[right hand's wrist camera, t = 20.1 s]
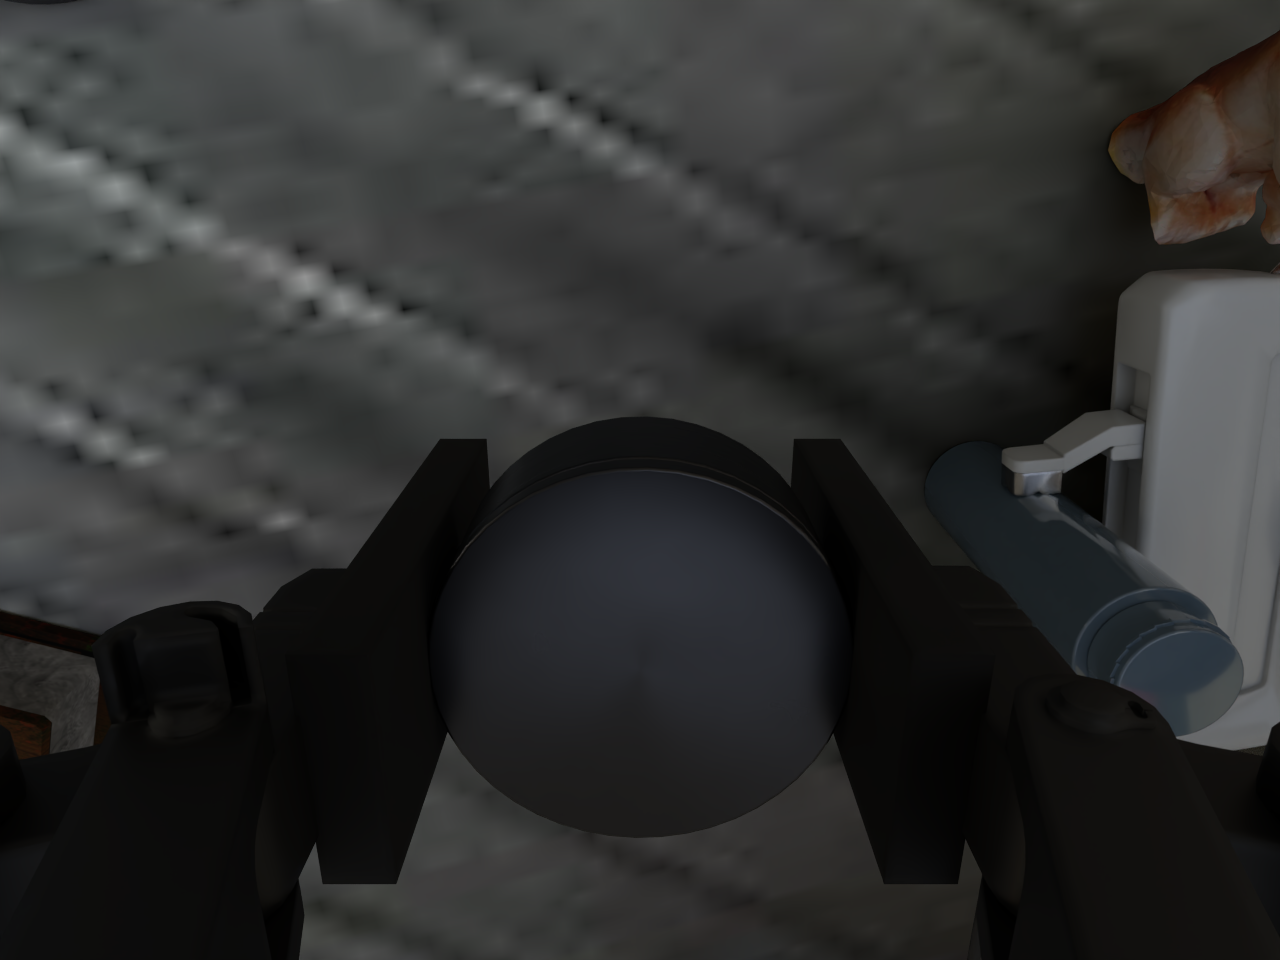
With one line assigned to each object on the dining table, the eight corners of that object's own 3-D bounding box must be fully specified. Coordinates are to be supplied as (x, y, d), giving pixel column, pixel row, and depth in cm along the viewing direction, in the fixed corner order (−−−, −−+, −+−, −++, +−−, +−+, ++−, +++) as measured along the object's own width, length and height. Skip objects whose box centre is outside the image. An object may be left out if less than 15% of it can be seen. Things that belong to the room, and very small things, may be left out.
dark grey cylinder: (993, 422, 40) (1225, 588, 24) (1035, 497, 41) (1283, 703, 25) (907, 474, 41) (1075, 667, 25) (951, 546, 42) (1139, 774, 26)
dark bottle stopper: (492, 751, 13) (466, 854, 11) (430, 435, 11) (387, 491, 9) (825, 723, 13) (857, 823, 11) (816, 397, 11) (851, 446, 9)
